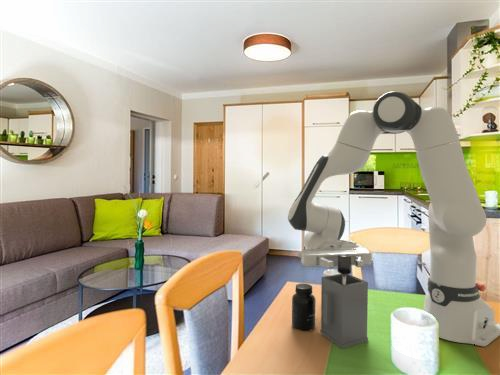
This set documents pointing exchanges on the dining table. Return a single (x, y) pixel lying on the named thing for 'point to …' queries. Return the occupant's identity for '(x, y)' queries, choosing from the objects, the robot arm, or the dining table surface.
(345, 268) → the dark cylinder rod
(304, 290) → the supplement bottle
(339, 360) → the dining table surface
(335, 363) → the dining table surface
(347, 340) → the gray open square box
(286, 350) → the dining table surface
